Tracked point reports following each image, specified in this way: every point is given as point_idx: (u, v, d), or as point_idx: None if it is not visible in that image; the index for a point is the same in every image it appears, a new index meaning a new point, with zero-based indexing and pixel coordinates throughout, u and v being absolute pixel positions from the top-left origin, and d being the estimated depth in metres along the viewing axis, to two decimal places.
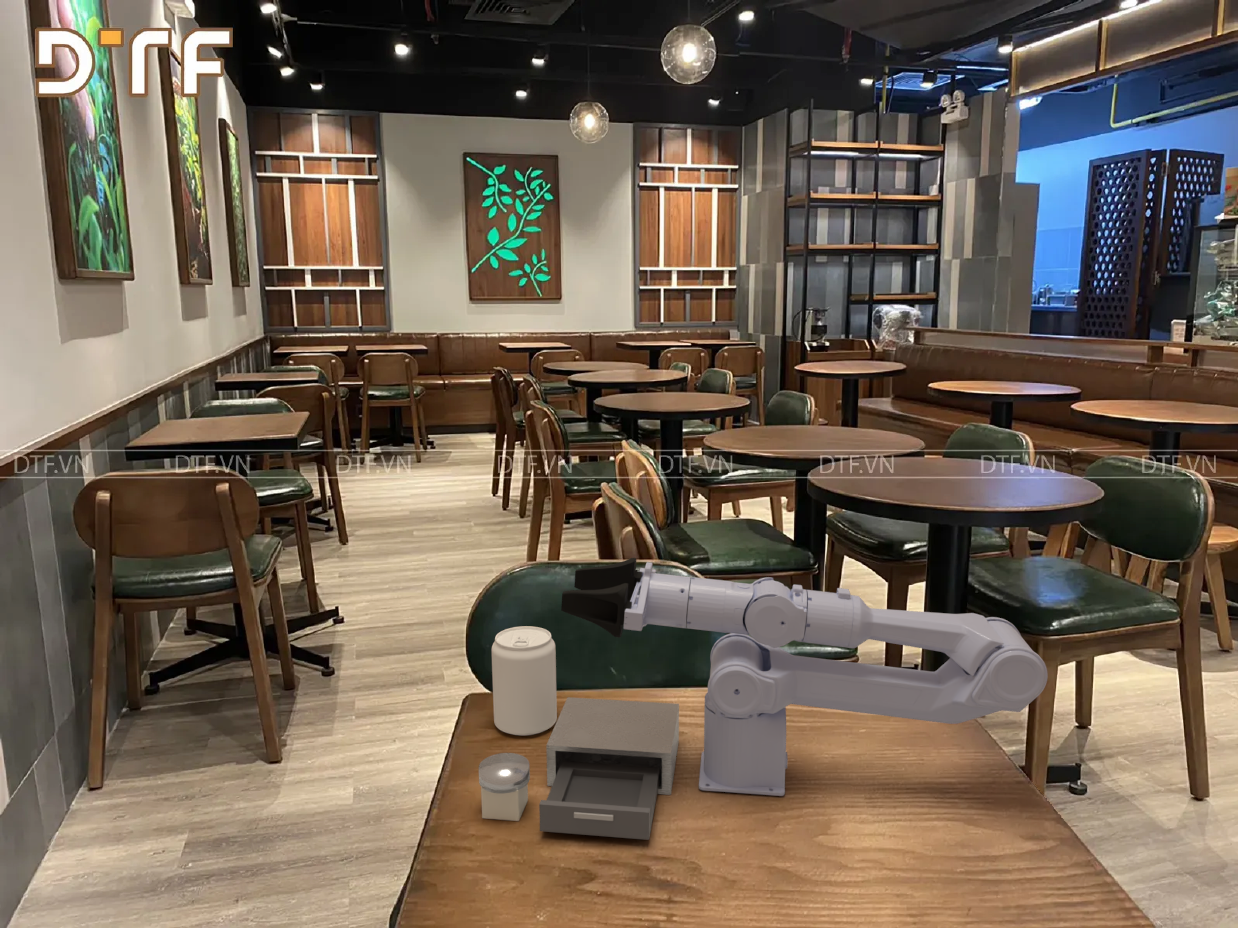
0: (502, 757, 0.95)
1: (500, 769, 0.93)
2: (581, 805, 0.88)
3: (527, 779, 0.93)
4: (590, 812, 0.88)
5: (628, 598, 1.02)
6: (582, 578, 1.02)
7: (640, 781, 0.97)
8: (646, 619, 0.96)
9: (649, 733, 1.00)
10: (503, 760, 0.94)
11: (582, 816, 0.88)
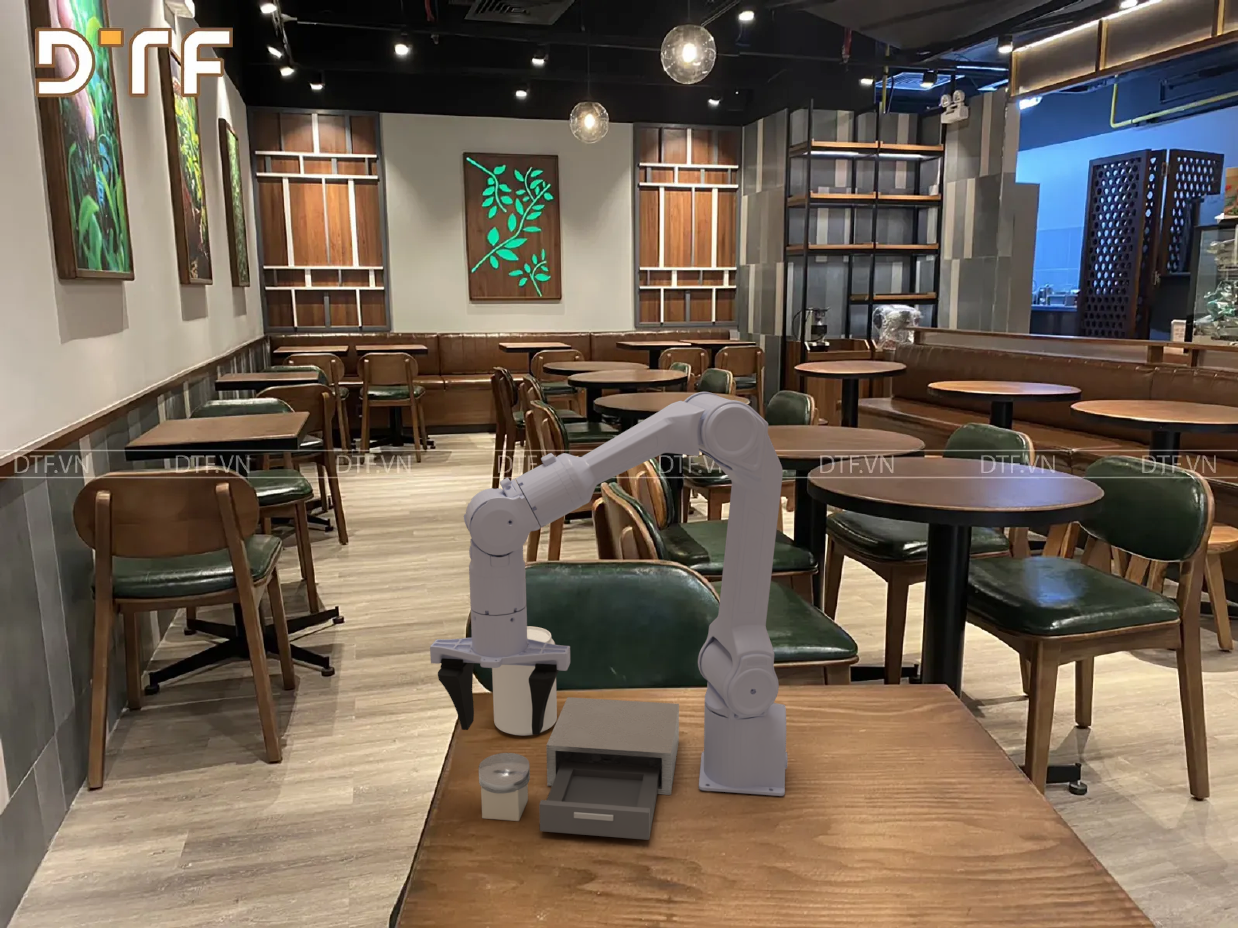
0: (502, 757, 0.95)
1: (500, 769, 0.93)
2: (581, 805, 0.88)
3: (527, 779, 0.93)
4: (590, 812, 0.88)
5: None
6: (469, 718, 0.93)
7: (640, 781, 0.97)
8: None
9: (649, 733, 1.00)
10: (503, 760, 0.94)
11: (582, 816, 0.88)
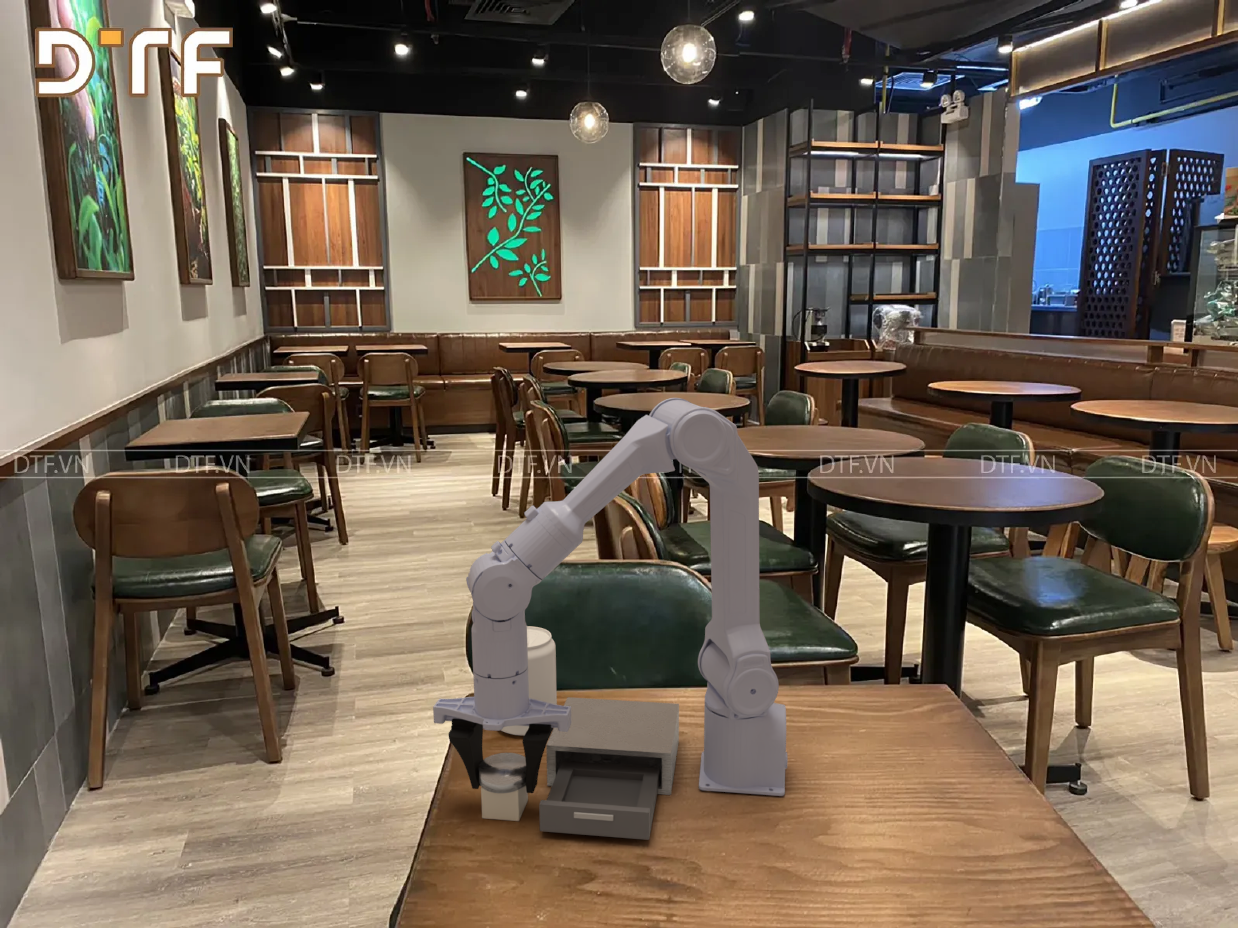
0: (502, 757, 0.95)
1: (500, 768, 0.93)
2: (581, 805, 0.88)
3: None
4: (590, 812, 0.88)
5: None
6: None
7: (640, 781, 0.97)
8: None
9: (649, 733, 1.00)
10: (503, 760, 0.94)
11: (582, 816, 0.88)
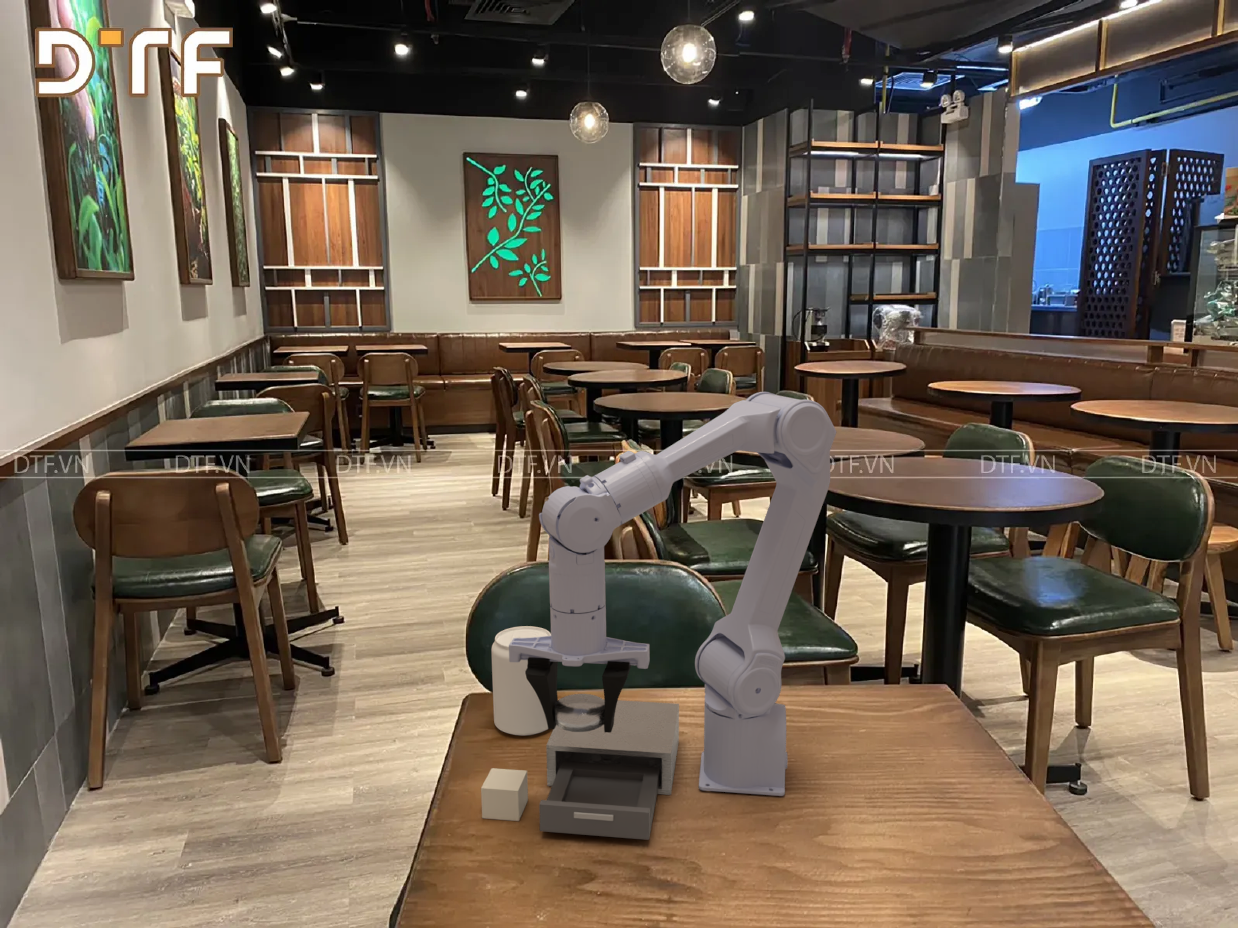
0: (577, 697, 0.93)
1: (576, 708, 0.91)
2: (581, 805, 0.88)
3: None
4: (590, 812, 0.88)
5: None
6: None
7: (640, 781, 0.97)
8: None
9: (649, 733, 1.00)
10: (578, 700, 0.93)
11: (582, 816, 0.88)
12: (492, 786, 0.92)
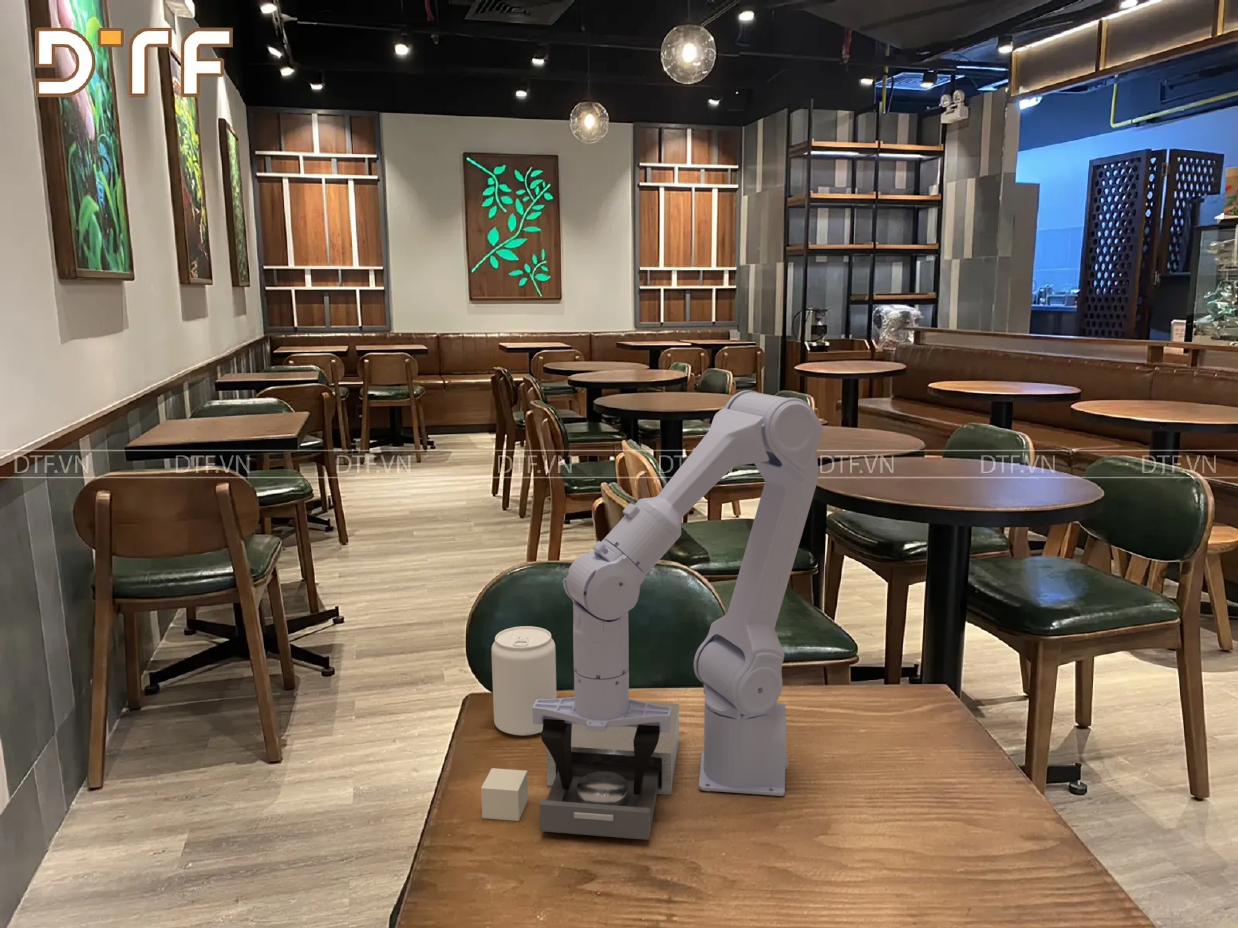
0: (599, 776, 0.95)
1: (599, 788, 0.93)
2: (581, 805, 0.88)
3: (626, 798, 0.93)
4: (590, 812, 0.88)
5: None
6: (569, 777, 0.93)
7: None
8: None
9: None
10: (600, 779, 0.94)
11: (582, 816, 0.88)
12: (492, 786, 0.92)
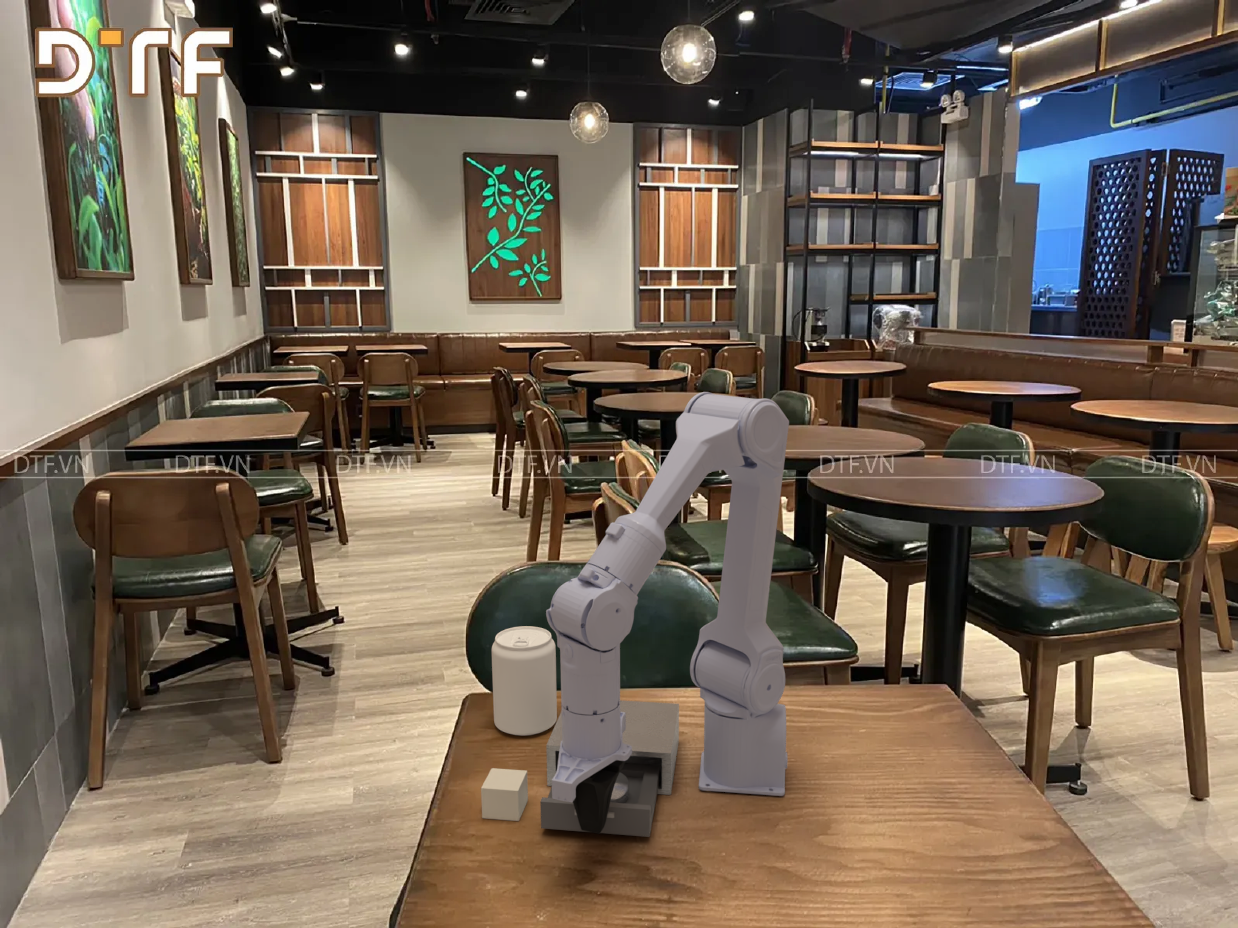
0: None
1: None
2: None
3: (627, 796, 0.93)
4: None
5: None
6: None
7: (641, 779, 0.97)
8: None
9: (649, 733, 1.00)
10: None
11: None
12: (492, 786, 0.92)
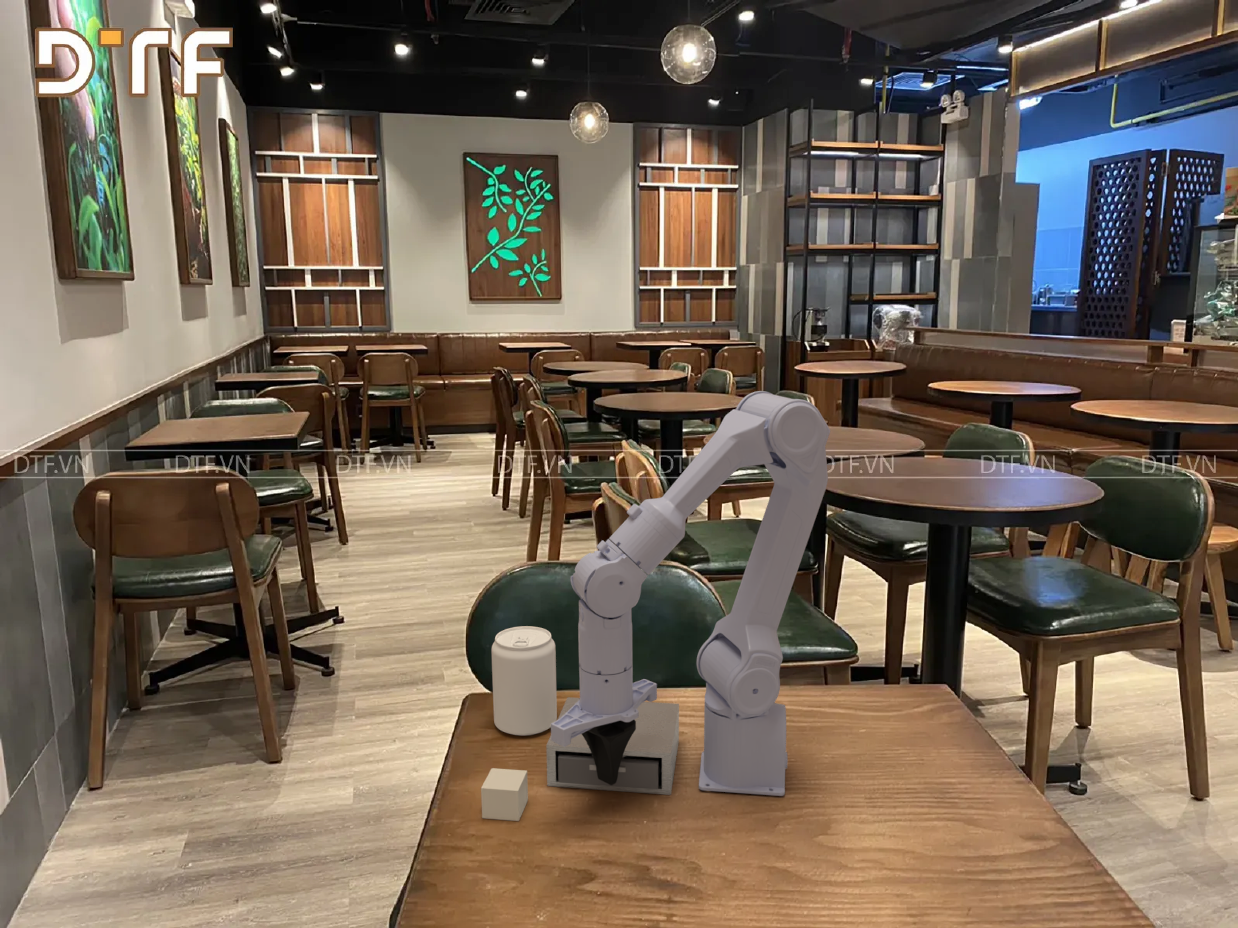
0: None
1: None
2: None
3: None
4: None
5: None
6: None
7: None
8: None
9: (649, 733, 1.00)
10: None
11: None
12: (492, 786, 0.92)
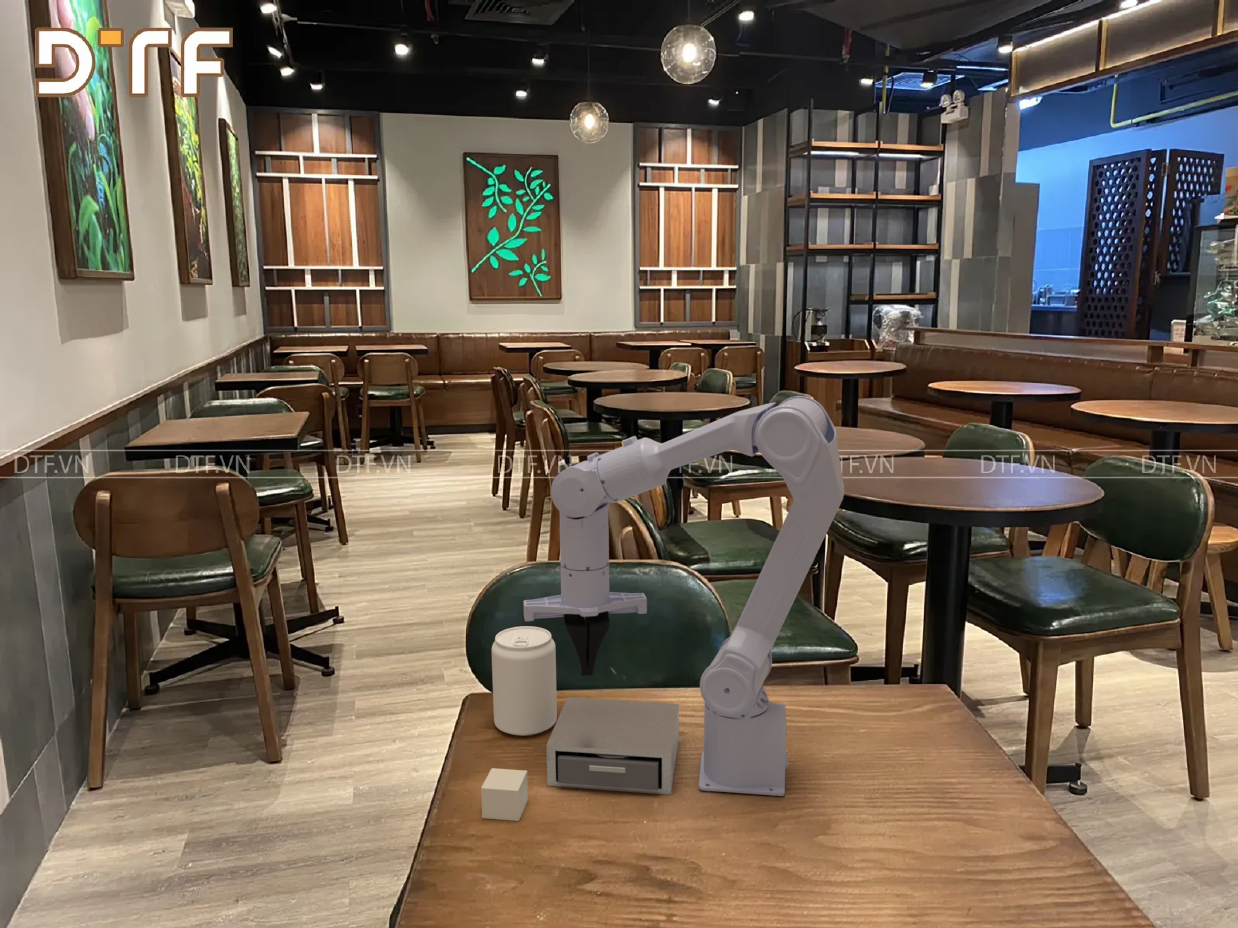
0: None
1: None
2: (596, 759, 0.97)
3: None
4: (604, 765, 0.97)
5: None
6: None
7: None
8: None
9: (649, 733, 1.00)
10: None
11: (596, 769, 0.97)
12: (492, 786, 0.92)
